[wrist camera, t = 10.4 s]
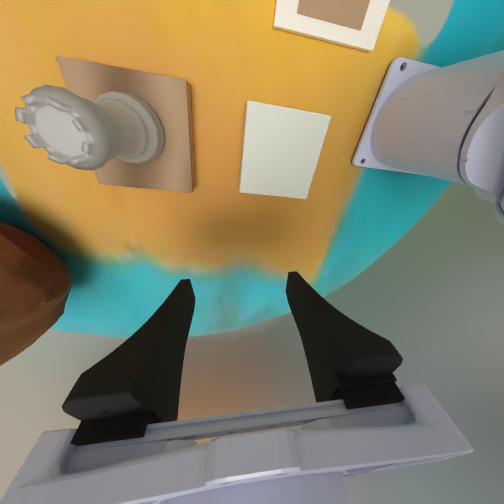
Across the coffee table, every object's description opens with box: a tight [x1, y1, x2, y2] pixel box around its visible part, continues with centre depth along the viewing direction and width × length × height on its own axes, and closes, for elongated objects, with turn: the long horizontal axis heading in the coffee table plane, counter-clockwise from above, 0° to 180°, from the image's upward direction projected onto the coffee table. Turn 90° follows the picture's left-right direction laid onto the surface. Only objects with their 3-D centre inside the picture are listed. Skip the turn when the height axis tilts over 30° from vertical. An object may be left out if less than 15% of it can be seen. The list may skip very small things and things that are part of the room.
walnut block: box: [56, 55, 195, 193], centre depth 15 cm, size 8×8×2 cm
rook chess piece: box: [15, 85, 164, 170], centre depth 11 cm, size 4×4×8 cm
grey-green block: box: [239, 101, 331, 199], centre depth 17 cm, size 7×7×2 cm
